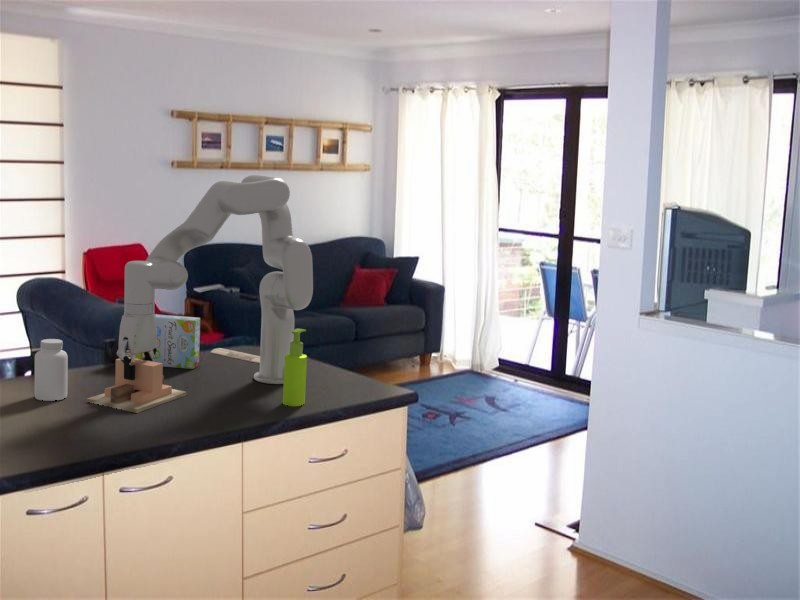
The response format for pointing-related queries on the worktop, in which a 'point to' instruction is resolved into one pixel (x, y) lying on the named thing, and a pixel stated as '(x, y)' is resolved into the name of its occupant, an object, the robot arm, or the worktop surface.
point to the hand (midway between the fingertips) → (138, 376)
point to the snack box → (177, 341)
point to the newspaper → (236, 355)
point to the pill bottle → (51, 371)
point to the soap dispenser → (295, 372)
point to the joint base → (123, 399)
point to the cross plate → (142, 381)
